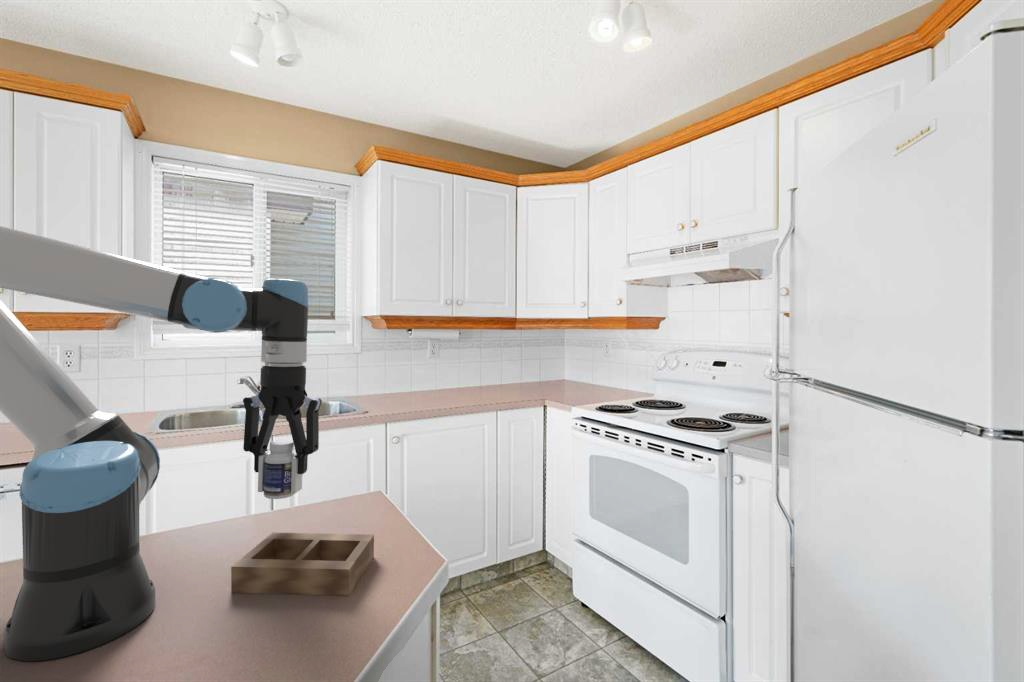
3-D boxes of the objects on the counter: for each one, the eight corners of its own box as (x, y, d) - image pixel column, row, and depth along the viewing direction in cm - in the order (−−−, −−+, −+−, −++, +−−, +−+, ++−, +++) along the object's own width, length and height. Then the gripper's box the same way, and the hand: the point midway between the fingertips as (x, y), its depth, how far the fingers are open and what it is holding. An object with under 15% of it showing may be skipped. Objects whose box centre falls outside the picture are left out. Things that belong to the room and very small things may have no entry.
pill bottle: (287, 500, 85) (289, 446, 84) (257, 499, 85) (259, 444, 85) (301, 490, 90) (302, 439, 90) (273, 489, 90) (274, 438, 90)
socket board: (231, 592, 72) (231, 566, 72) (272, 554, 84) (272, 532, 84) (349, 595, 72) (349, 569, 72) (373, 557, 84) (373, 534, 84)
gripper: (221, 363, 83) (217, 495, 84) (325, 367, 83) (321, 499, 83) (246, 361, 91) (242, 481, 91) (341, 365, 91) (337, 485, 91)
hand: (280, 490), depth 87 cm, fingers closed on pill bottle, 5 cm apart
